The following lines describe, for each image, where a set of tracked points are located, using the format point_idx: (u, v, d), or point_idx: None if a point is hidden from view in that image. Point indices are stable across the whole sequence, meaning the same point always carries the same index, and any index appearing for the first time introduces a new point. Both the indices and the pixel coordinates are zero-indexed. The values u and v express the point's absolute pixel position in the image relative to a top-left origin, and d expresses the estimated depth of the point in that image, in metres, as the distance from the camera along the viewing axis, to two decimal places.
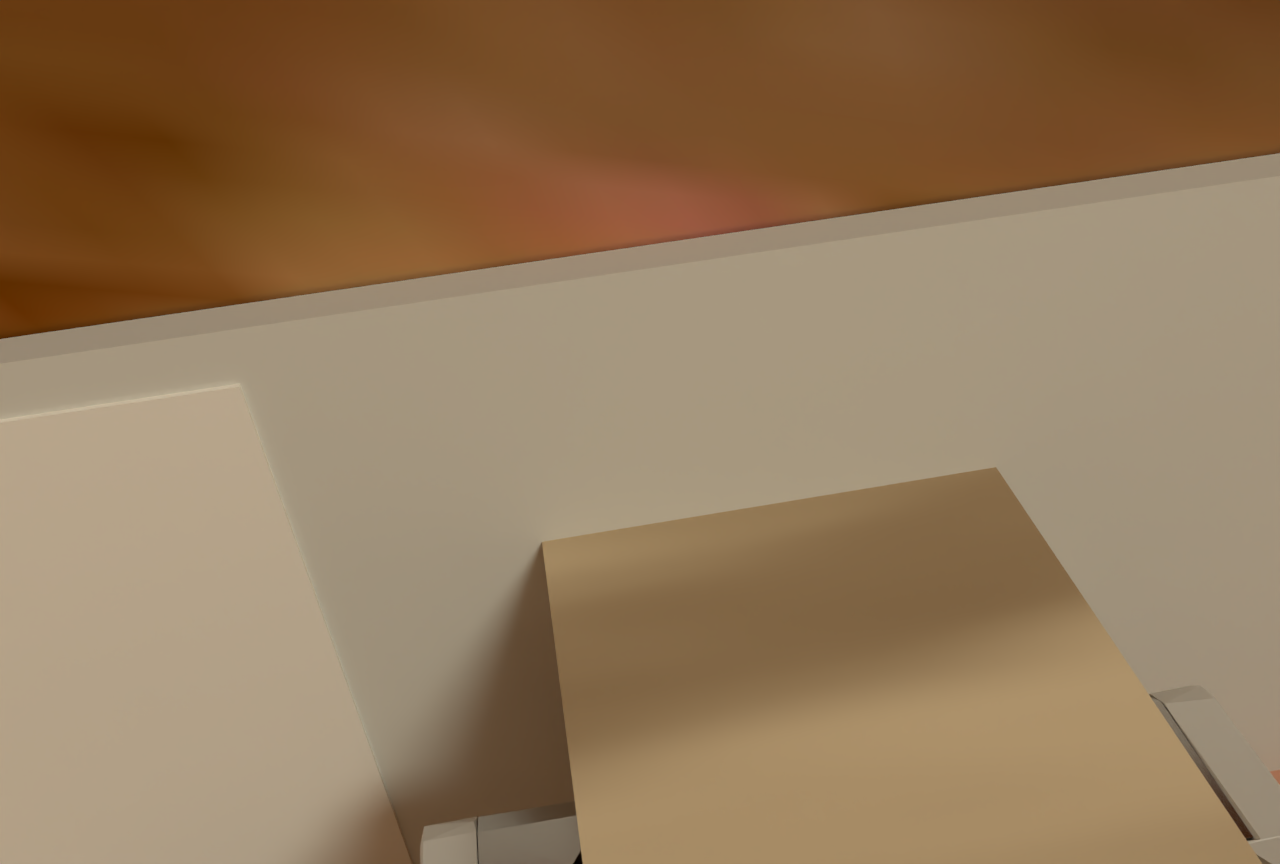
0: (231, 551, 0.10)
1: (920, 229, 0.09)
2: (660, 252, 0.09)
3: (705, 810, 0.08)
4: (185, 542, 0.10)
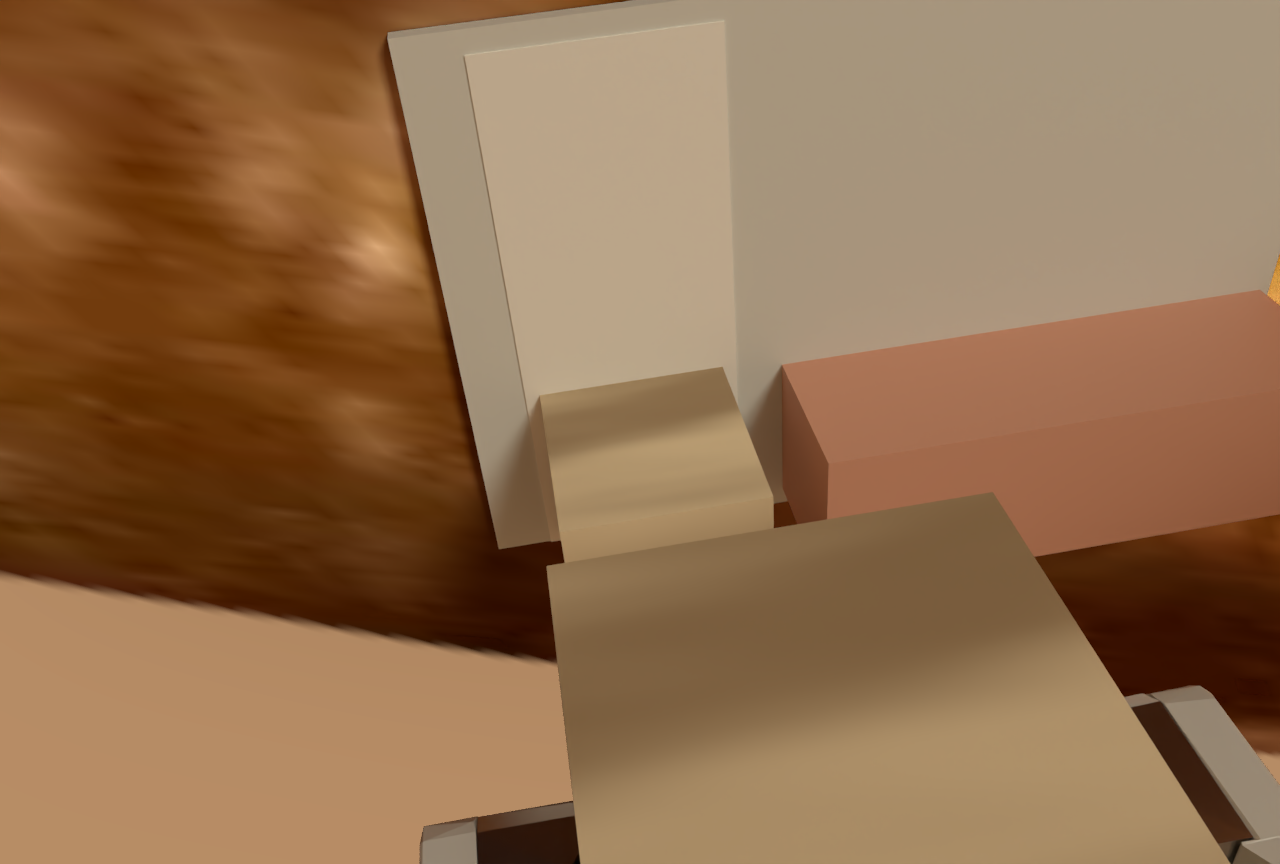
0: (701, 107, 0.23)
1: None
2: None
3: (702, 832, 0.08)
4: (681, 103, 0.23)
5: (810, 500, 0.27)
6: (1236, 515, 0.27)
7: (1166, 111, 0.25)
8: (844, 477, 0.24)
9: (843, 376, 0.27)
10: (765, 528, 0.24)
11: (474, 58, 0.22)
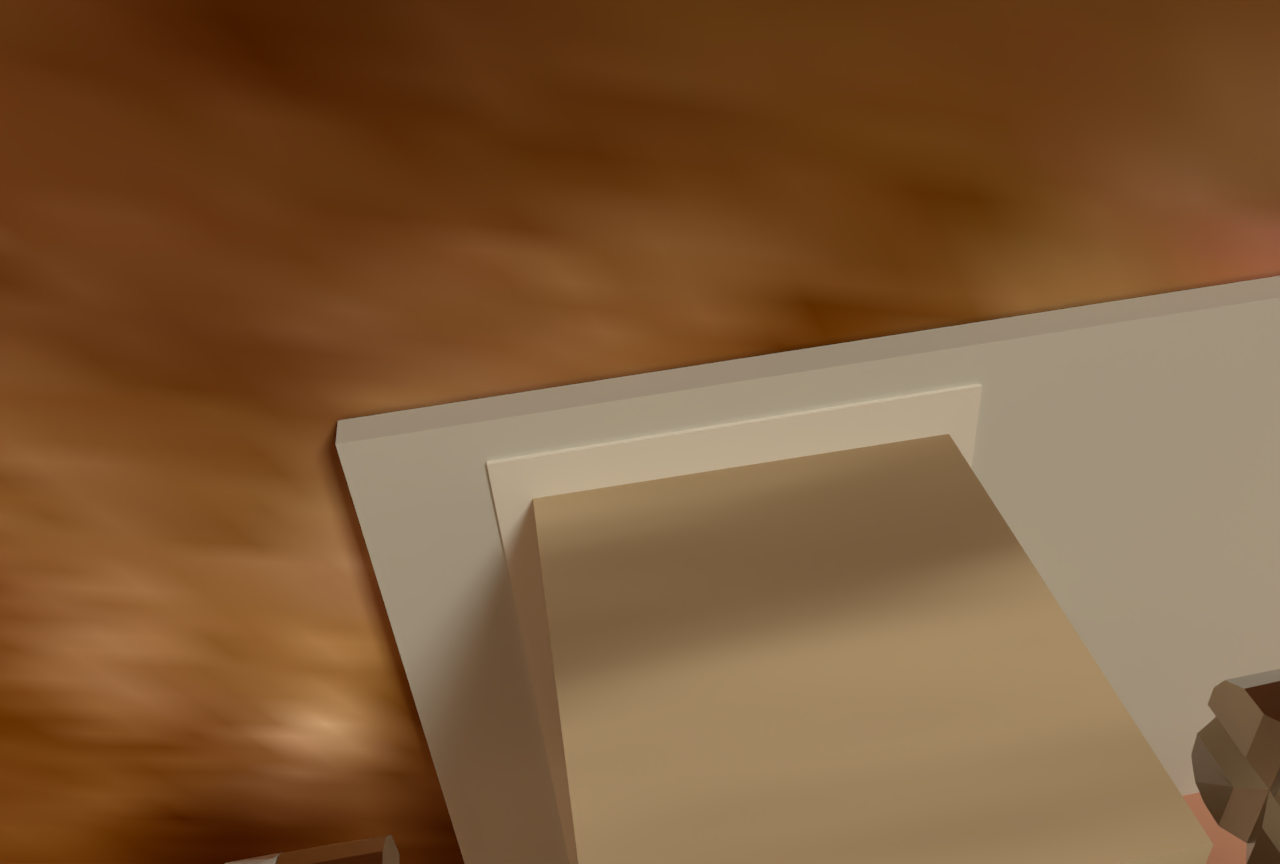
0: None
1: None
2: None
3: (676, 726, 0.09)
4: None
5: None
6: None
7: None
8: None
9: None
10: None
11: (506, 466, 0.11)
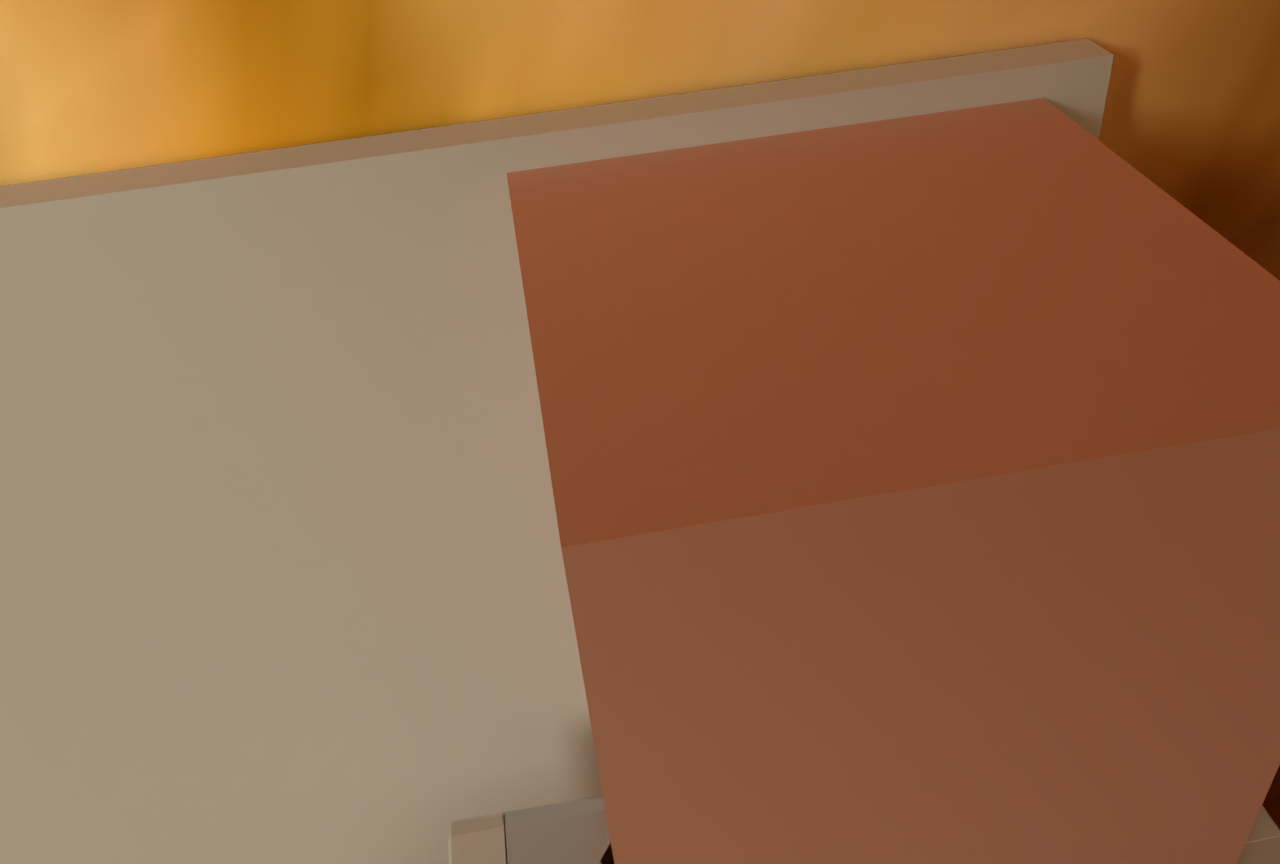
0: None
1: None
2: None
3: None
4: None
5: None
6: (1270, 710, 0.06)
7: None
8: None
9: None
10: None
11: None
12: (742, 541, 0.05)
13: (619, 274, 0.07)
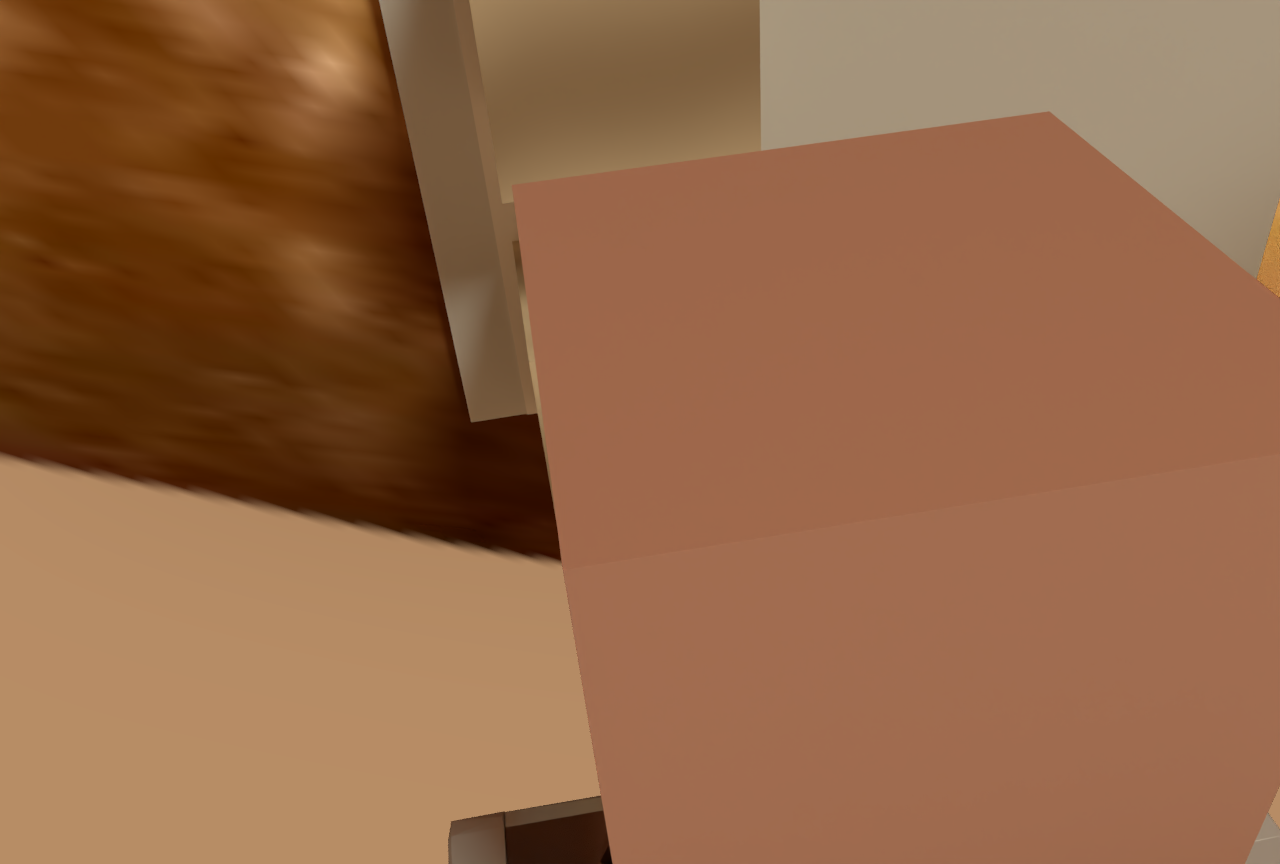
0: None
1: None
2: None
3: None
4: None
5: None
6: (1271, 730, 0.06)
7: None
8: None
9: None
10: None
11: None
12: (744, 561, 0.05)
13: (623, 287, 0.07)
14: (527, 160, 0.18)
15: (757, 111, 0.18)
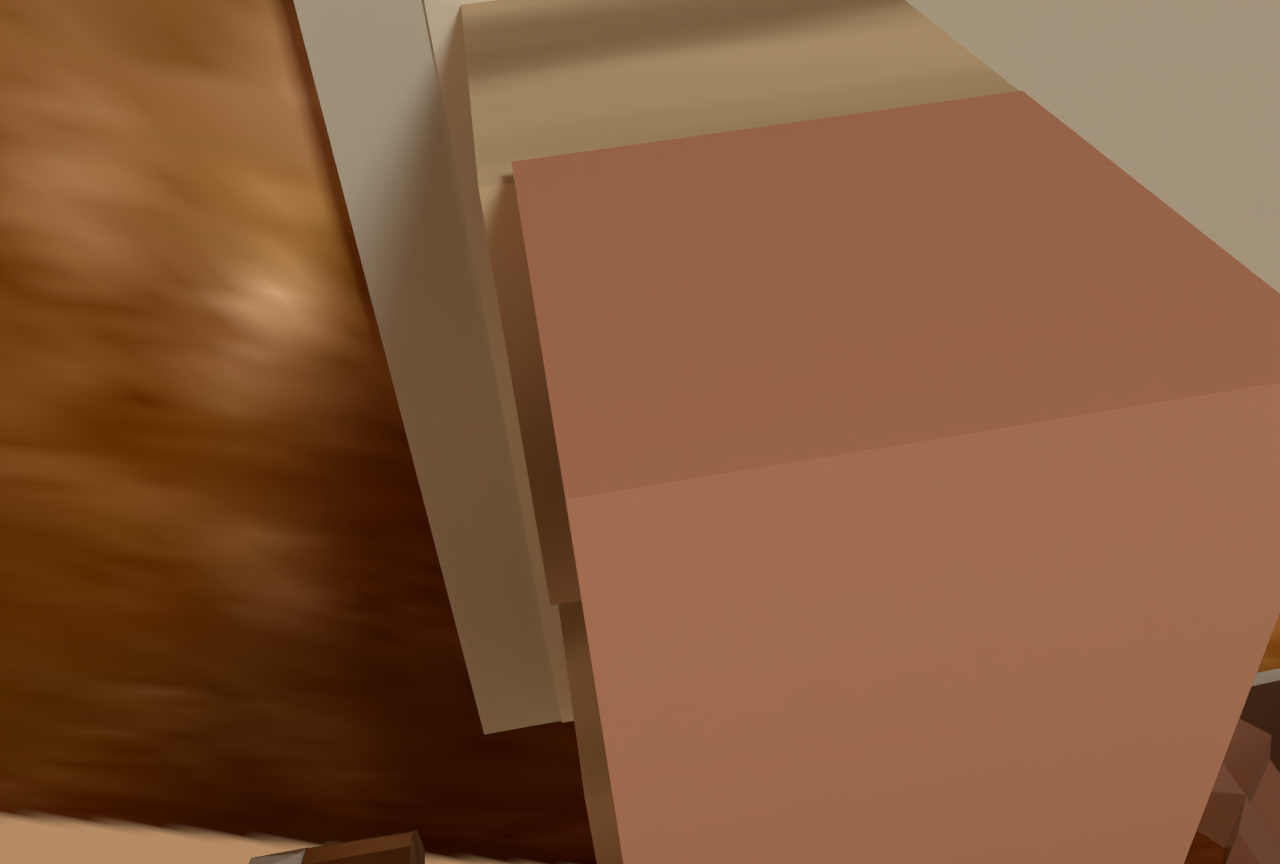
0: None
1: None
2: None
3: (574, 90, 0.10)
4: None
5: None
6: (1228, 663, 0.07)
7: None
8: None
9: None
10: None
11: None
12: (732, 493, 0.05)
13: (619, 253, 0.07)
14: None
15: None
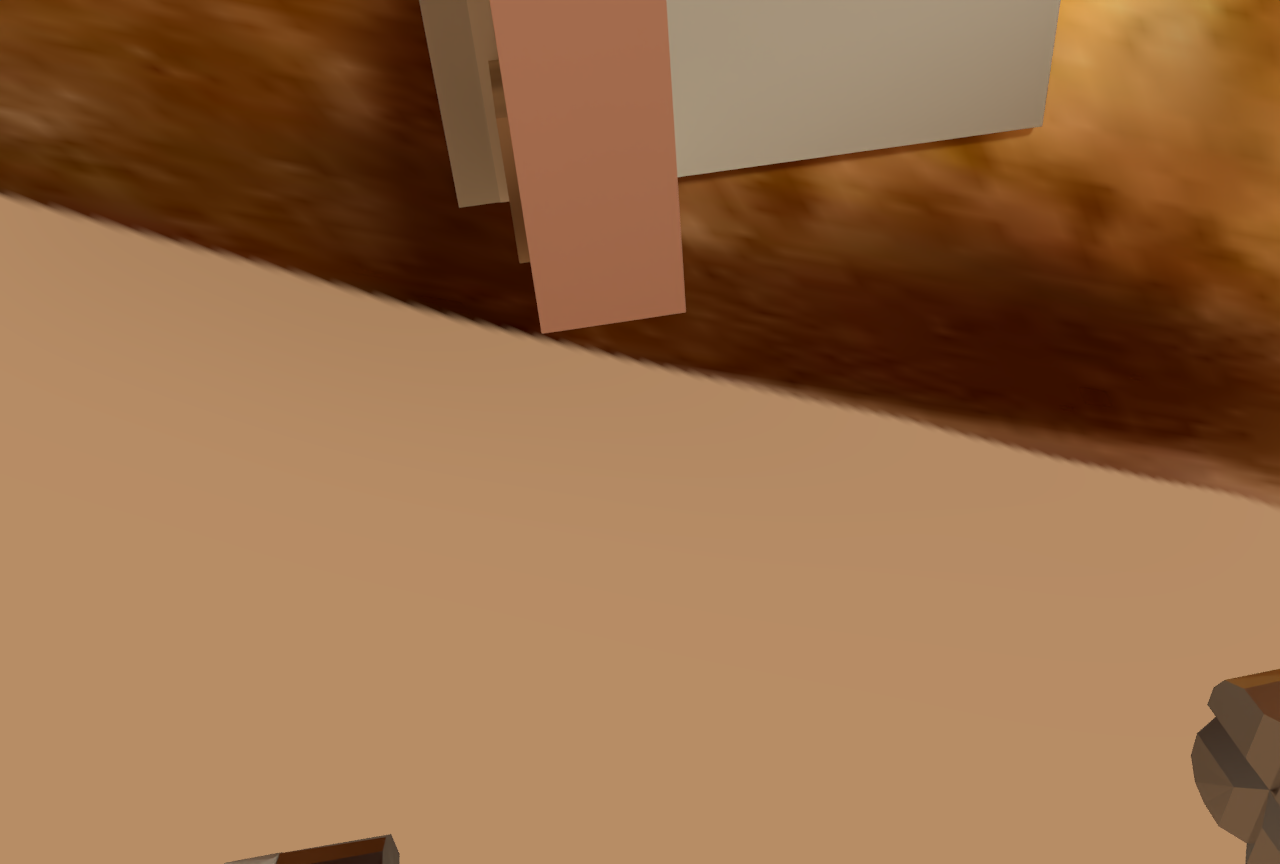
0: None
1: None
2: None
3: None
4: None
5: None
6: None
7: None
8: (557, 319, 0.30)
9: None
10: None
11: None
12: None
13: None
14: None
15: None
